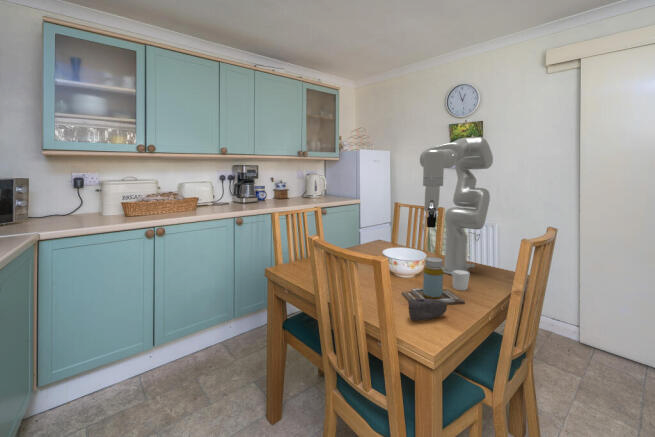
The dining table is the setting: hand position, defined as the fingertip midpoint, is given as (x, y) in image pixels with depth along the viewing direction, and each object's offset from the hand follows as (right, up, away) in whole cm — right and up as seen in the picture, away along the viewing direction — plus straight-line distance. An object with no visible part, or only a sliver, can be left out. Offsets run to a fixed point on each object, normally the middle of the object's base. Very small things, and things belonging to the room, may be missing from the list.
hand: (431, 224), depth 126 cm
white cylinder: (+14, -27, +7) cm, 32 cm away
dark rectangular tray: (-1, -29, -4) cm, 29 cm away
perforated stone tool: (-8, -32, -20) cm, 38 cm away
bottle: (-1, -28, -5) cm, 28 cm away
